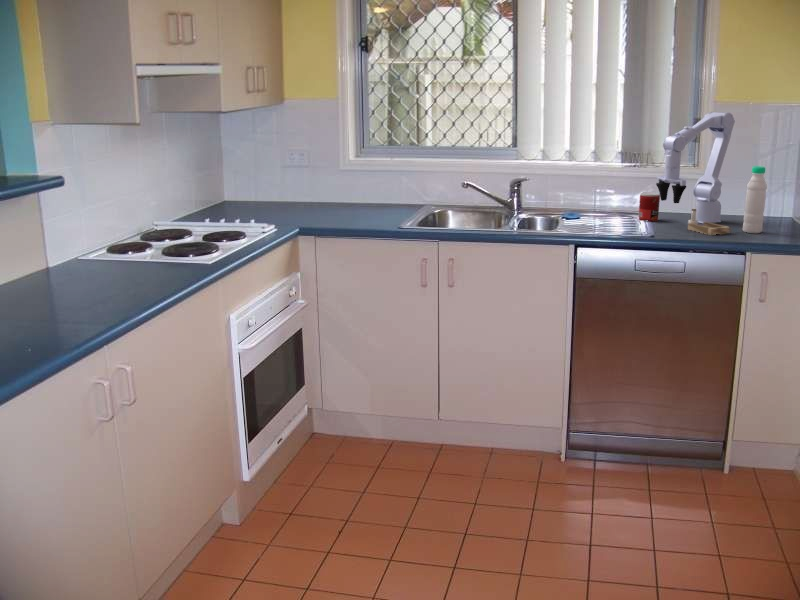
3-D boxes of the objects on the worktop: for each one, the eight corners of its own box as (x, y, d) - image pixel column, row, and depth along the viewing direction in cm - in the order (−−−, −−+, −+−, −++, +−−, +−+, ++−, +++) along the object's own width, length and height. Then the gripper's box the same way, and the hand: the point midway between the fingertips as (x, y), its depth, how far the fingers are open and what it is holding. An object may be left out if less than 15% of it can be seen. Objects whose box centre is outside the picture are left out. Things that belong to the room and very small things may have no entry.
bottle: (692, 227, 348) (694, 208, 346) (699, 228, 345) (700, 209, 343) (685, 227, 347) (687, 208, 345) (692, 229, 343) (693, 210, 342)
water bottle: (763, 234, 333) (770, 168, 327) (743, 233, 335) (750, 167, 328) (759, 230, 340) (766, 166, 334) (740, 230, 341) (747, 165, 335)
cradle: (706, 228, 345) (706, 221, 345) (729, 233, 334) (730, 227, 333) (687, 229, 342) (688, 223, 341) (710, 235, 331) (711, 228, 330)
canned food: (653, 222, 358) (655, 195, 356) (635, 220, 363) (637, 193, 360) (660, 219, 364) (663, 193, 362) (642, 217, 369) (644, 191, 366)
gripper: (652, 165, 349) (649, 199, 352) (676, 169, 336) (674, 205, 339) (666, 164, 351) (664, 198, 355) (691, 168, 338) (688, 203, 342)
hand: (669, 201), depth 347 cm, fingers open, 7 cm apart
